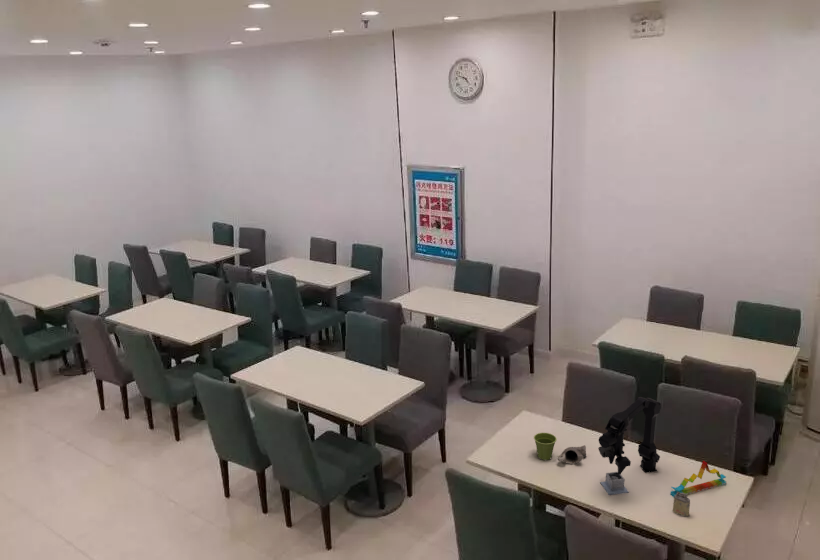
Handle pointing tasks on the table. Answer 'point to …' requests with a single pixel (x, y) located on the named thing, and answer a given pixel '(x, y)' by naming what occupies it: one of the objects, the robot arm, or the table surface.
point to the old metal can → (681, 504)
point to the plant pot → (545, 445)
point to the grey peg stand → (613, 491)
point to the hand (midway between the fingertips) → (615, 468)
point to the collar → (614, 481)
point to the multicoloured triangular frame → (703, 485)
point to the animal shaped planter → (573, 454)
